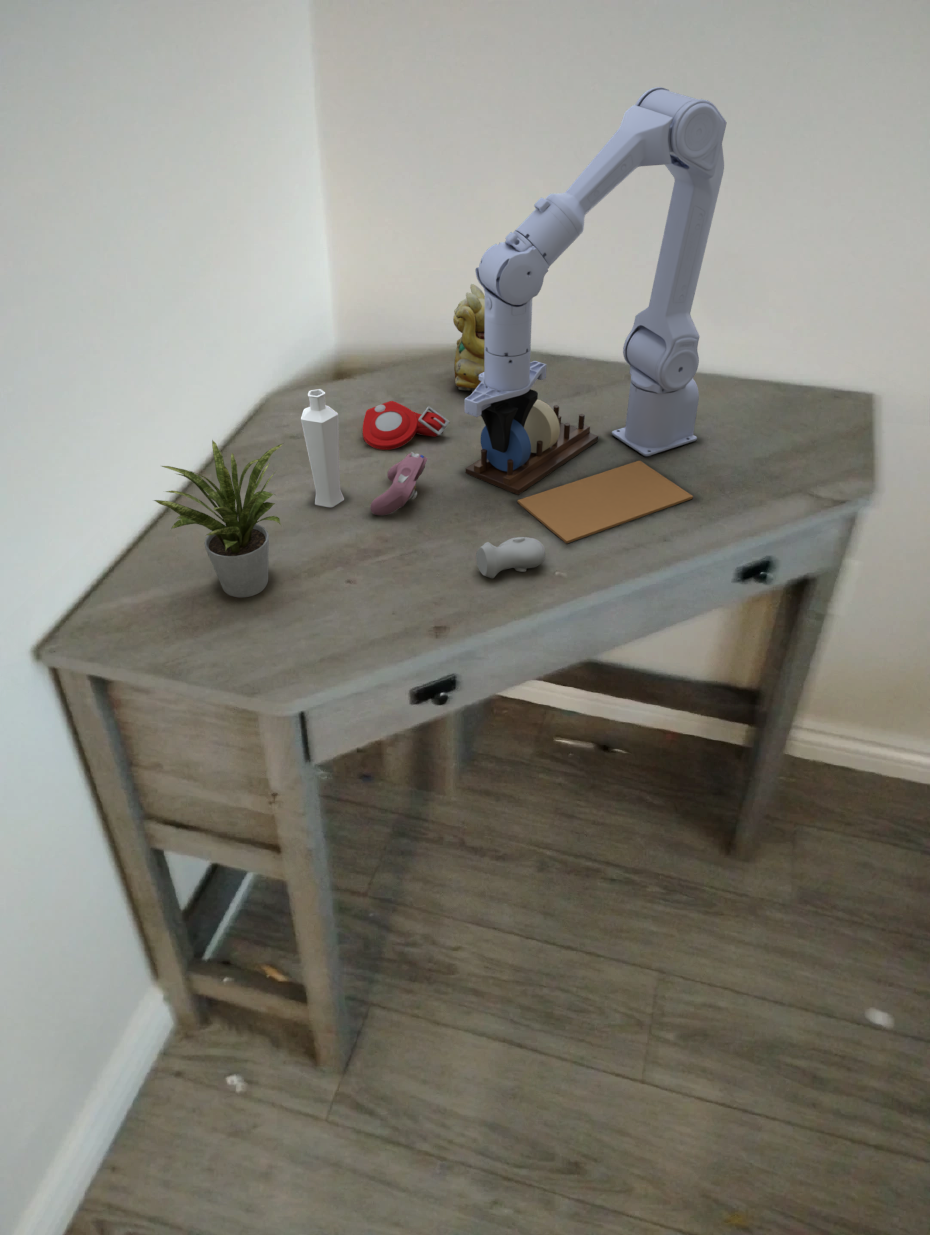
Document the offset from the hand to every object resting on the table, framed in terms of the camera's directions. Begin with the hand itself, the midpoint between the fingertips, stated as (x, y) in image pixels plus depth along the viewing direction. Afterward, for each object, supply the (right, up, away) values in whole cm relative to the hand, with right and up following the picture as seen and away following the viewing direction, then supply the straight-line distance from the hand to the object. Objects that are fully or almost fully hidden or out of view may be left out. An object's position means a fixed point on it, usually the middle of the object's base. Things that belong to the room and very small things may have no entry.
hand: (505, 446), depth 123 cm
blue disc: (0, 0, 0) cm, 0 cm away
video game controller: (-14, -7, -2) cm, 16 cm away
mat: (+13, -8, -3) cm, 15 cm away
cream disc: (+4, +3, +4) cm, 7 cm away
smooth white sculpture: (0, -17, -14) cm, 22 cm away
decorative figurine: (-3, +20, +20) cm, 28 cm away
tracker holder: (-14, +3, +11) cm, 19 cm away
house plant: (-31, -18, -15) cm, 38 cm away
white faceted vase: (-23, -7, -2) cm, 24 cm away
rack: (+4, 0, +7) cm, 8 cm away
